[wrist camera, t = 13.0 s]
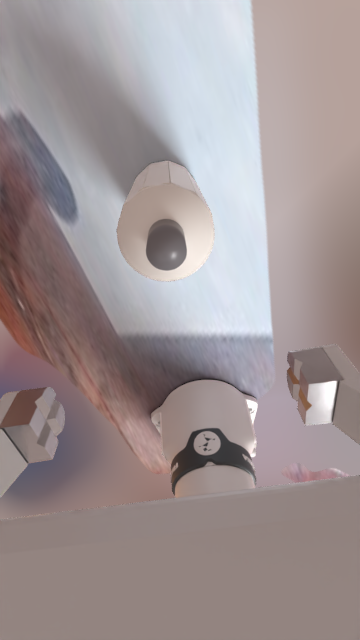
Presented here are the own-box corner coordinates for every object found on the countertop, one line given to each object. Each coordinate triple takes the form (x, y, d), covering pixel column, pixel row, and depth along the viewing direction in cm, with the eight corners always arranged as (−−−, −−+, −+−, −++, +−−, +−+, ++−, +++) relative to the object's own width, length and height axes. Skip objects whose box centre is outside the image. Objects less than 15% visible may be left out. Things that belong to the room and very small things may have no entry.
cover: (201, 223, 37) (224, 290, 23) (141, 234, 38) (127, 306, 23) (192, 155, 33) (214, 184, 19) (125, 168, 34) (97, 205, 19)
